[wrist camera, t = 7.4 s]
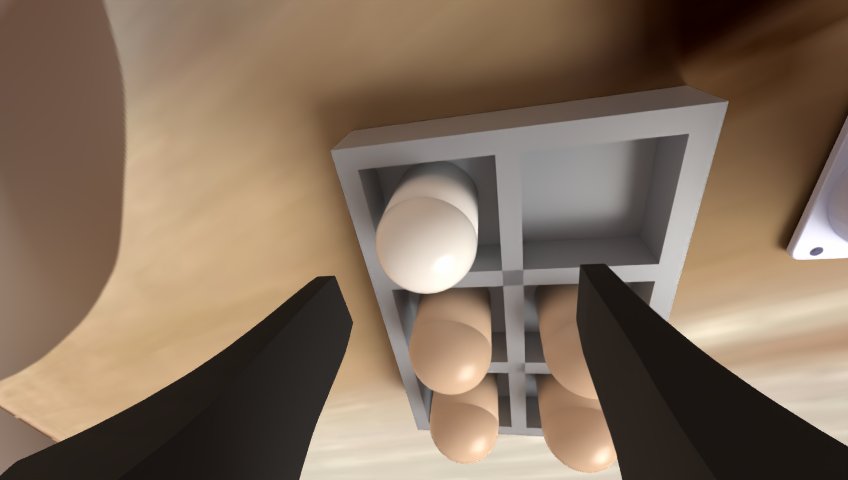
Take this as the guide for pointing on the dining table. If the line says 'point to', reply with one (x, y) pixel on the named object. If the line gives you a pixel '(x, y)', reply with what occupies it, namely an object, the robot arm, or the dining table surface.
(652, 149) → the egg carton
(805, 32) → the dining table surface
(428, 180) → the white egg
